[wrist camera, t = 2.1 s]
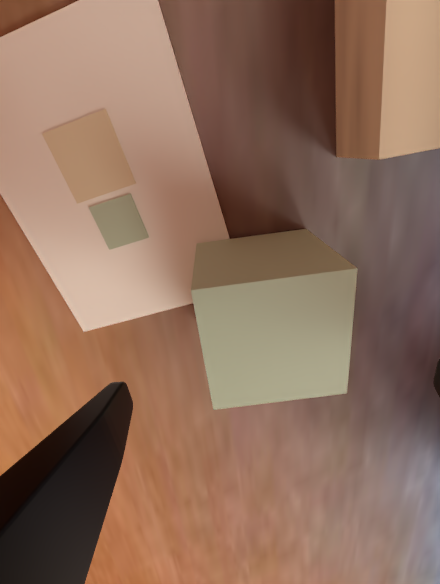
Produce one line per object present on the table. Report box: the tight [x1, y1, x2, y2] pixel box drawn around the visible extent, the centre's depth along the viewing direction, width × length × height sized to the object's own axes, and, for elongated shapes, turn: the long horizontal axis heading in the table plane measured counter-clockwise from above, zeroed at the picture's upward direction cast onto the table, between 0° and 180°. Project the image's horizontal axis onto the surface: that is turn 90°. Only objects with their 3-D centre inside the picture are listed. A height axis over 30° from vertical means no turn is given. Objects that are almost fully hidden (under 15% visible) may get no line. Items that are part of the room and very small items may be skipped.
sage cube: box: [191, 229, 358, 410], centre depth 12 cm, size 5×5×5 cm
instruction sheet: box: [0, 0, 230, 332], centre depth 13 cm, size 9×12×1 cm
